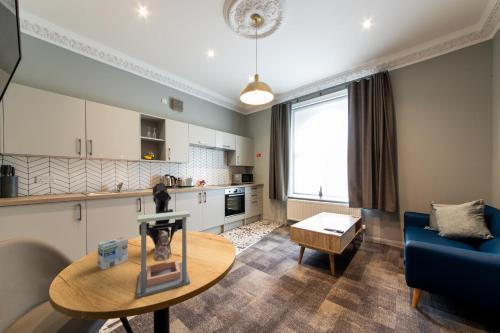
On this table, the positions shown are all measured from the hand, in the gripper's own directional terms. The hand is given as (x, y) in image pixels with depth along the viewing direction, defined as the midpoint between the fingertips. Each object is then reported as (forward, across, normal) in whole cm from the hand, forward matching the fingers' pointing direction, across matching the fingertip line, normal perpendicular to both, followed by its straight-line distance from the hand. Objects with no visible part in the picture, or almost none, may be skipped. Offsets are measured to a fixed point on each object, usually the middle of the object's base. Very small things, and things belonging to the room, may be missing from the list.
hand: (163, 243), depth 82 cm
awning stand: (+12, 0, +6) cm, 13 cm away
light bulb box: (-6, -21, +24) cm, 33 cm away
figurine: (+4, 0, +6) cm, 7 cm away
